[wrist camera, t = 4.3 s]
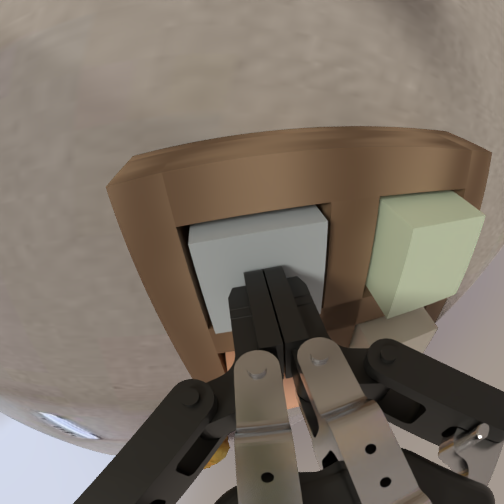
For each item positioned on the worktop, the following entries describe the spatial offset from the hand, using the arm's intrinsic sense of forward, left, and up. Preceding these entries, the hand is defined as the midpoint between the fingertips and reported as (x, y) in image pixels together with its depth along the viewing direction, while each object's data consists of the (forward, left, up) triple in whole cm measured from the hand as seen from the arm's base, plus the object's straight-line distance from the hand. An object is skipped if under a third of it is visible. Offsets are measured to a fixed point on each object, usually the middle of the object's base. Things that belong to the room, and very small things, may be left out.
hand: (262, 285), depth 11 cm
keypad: (-4, +4, -5) cm, 7 cm away
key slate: (0, 0, -3) cm, 3 cm away
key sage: (-8, 0, -2) cm, 8 cm away
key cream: (-8, +8, -2) cm, 12 cm away
